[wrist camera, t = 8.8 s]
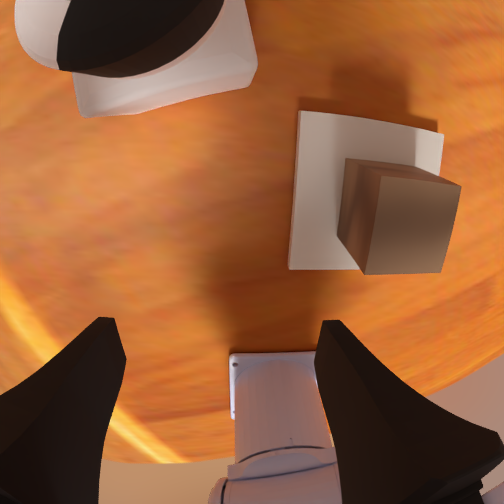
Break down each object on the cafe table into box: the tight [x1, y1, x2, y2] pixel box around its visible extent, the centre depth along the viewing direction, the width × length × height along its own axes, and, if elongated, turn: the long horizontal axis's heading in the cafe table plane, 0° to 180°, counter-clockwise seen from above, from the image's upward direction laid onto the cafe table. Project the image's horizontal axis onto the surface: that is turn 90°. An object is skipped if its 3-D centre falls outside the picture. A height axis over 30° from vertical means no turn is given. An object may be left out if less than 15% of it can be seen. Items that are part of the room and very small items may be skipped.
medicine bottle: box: [15, 0, 258, 118], centre depth 9 cm, size 7×7×12 cm
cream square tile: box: [288, 111, 444, 270], centre depth 19 cm, size 10×10×1 cm
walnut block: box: [337, 158, 461, 275], centre depth 16 cm, size 5×5×5 cm
